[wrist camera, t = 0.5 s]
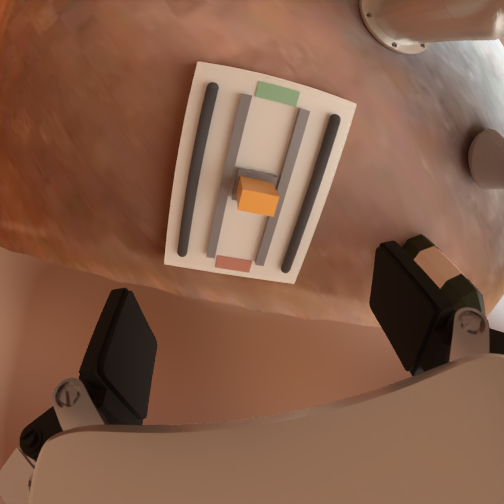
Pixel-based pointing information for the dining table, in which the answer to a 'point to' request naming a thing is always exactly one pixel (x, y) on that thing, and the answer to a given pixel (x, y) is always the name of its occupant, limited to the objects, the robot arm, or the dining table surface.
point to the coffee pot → (487, 159)
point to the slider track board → (254, 158)
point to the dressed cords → (197, 164)
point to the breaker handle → (255, 192)
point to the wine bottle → (444, 274)
